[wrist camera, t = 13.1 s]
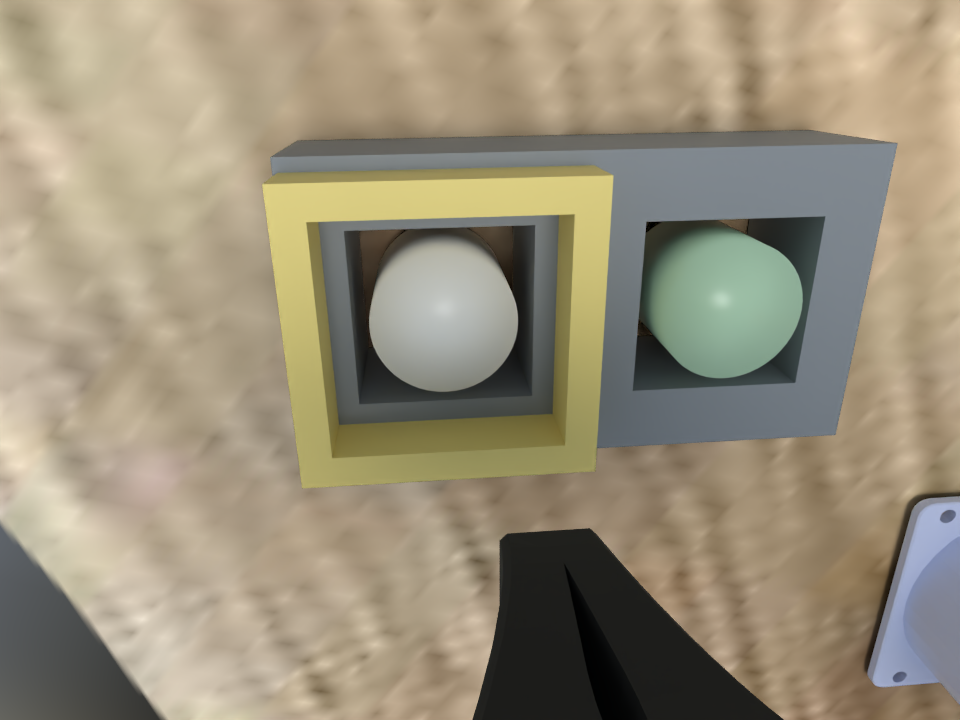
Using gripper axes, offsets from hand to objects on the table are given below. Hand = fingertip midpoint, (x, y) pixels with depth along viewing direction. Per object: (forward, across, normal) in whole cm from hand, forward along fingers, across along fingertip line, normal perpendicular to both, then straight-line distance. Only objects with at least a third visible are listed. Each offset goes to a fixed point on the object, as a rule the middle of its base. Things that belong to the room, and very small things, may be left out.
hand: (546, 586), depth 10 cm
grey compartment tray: (+10, -2, -2) cm, 10 cm away
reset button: (+9, +1, -2) cm, 9 cm away
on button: (+9, -5, -2) cm, 11 cm away
